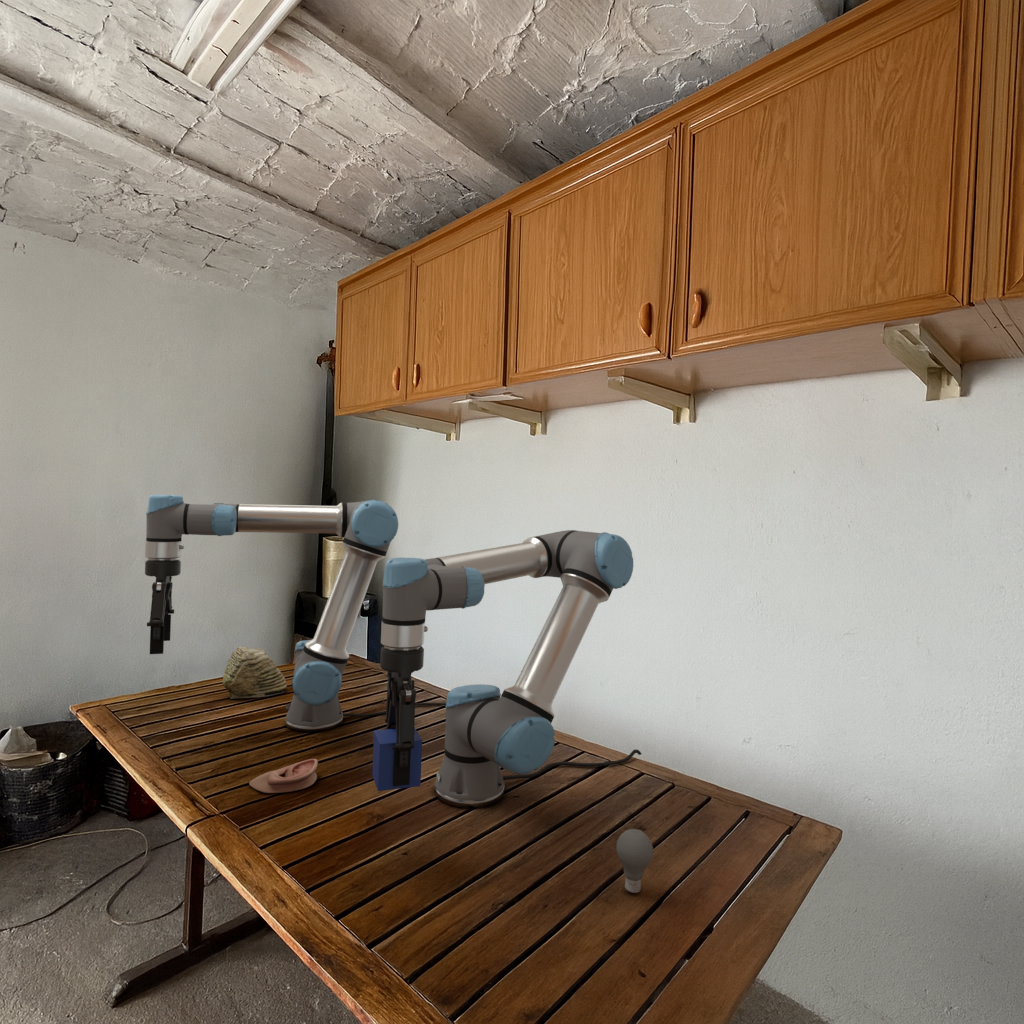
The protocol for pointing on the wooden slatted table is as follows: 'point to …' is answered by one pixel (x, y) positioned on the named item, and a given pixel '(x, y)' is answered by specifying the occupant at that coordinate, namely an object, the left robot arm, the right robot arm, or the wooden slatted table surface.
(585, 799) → the wooden slatted table surface
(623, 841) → the light bulb
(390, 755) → the block
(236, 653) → the fossil
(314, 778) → the anatomical model
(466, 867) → the wooden slatted table surface
